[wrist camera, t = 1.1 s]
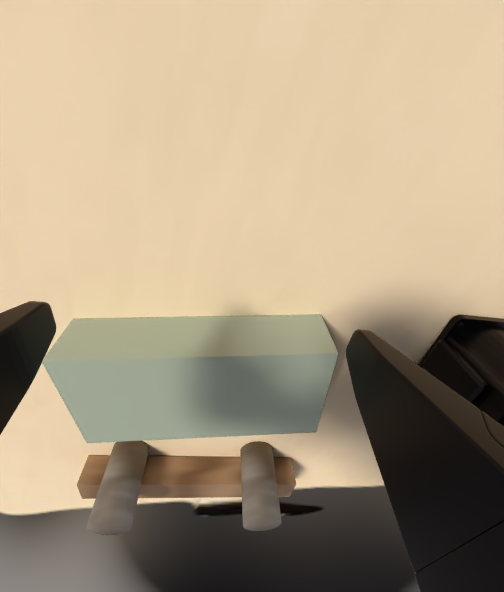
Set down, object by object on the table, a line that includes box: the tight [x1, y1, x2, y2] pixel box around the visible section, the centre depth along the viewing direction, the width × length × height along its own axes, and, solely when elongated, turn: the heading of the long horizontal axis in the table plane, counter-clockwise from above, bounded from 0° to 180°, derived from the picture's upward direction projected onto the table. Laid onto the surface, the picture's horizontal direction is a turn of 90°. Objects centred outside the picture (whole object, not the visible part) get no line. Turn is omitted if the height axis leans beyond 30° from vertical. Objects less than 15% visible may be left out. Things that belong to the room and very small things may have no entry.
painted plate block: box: [42, 314, 338, 443], centre depth 19 cm, size 16×8×4 cm, turn 88°
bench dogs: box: [77, 441, 296, 535], centre depth 25 cm, size 20×6×6 cm, turn 81°
